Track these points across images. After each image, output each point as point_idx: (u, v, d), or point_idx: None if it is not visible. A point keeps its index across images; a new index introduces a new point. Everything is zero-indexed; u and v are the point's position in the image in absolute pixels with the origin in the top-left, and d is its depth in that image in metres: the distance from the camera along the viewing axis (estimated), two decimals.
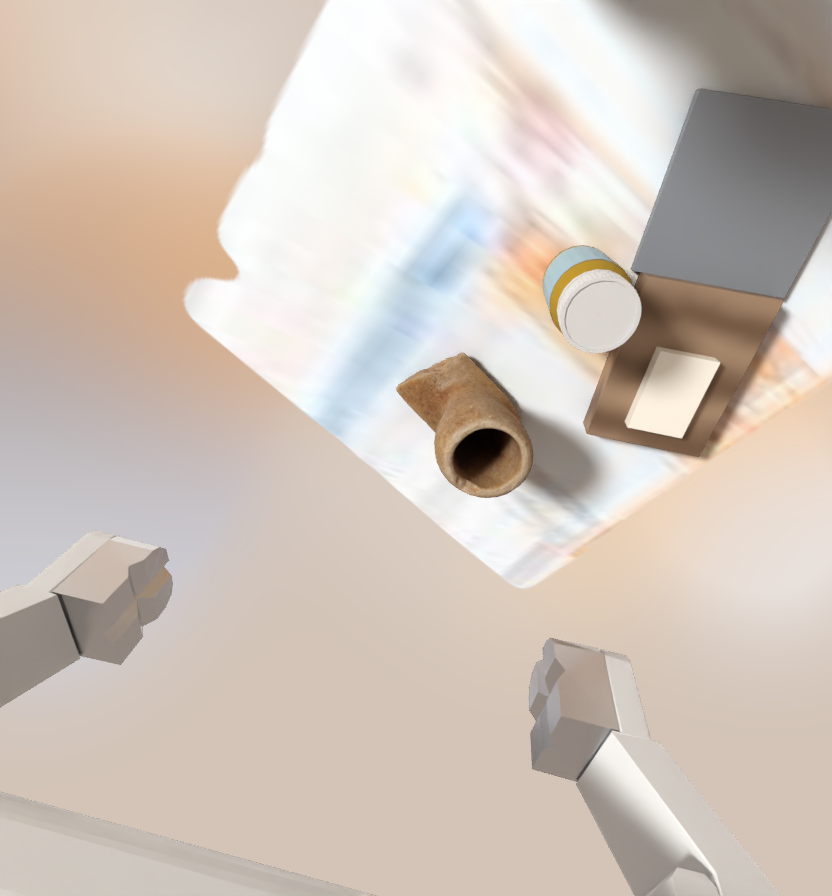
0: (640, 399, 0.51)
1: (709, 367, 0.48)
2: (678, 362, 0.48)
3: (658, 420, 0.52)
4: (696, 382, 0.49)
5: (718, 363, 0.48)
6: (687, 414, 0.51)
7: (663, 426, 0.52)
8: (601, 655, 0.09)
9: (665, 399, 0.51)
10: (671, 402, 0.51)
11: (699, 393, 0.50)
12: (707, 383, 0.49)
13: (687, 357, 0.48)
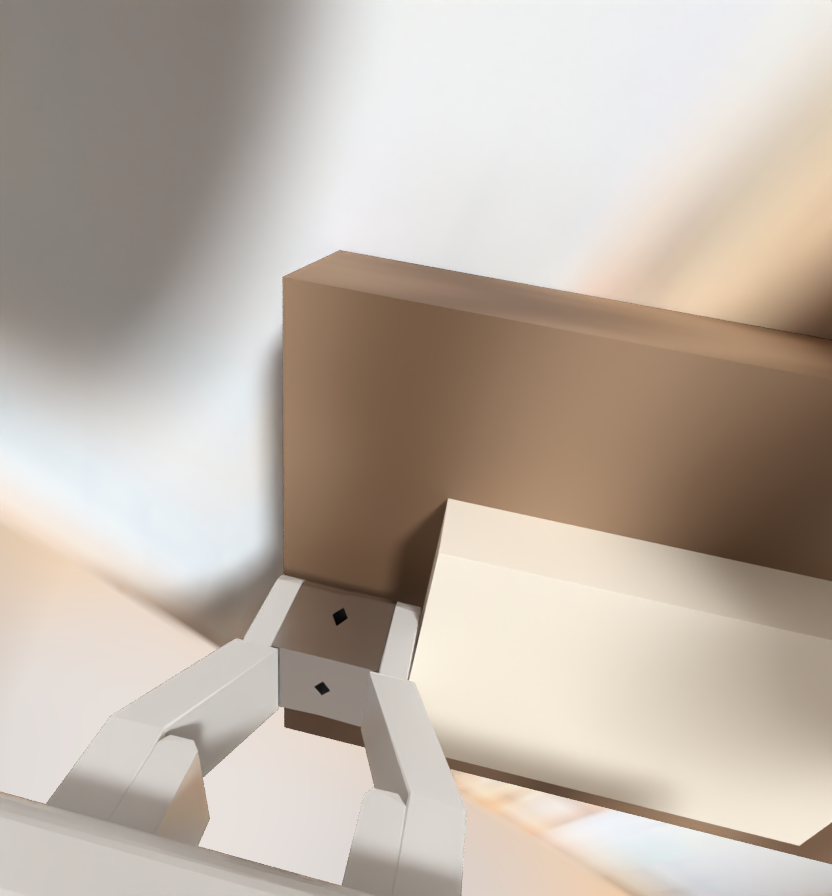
0: (653, 603, 0.08)
1: (786, 821, 0.10)
2: None
3: (493, 677, 0.09)
4: (710, 788, 0.10)
5: (797, 841, 0.10)
6: (527, 761, 0.10)
7: (453, 692, 0.09)
8: (392, 606, 0.09)
9: (633, 699, 0.09)
10: (604, 719, 0.09)
11: (645, 793, 0.10)
12: (692, 813, 0.10)
13: None
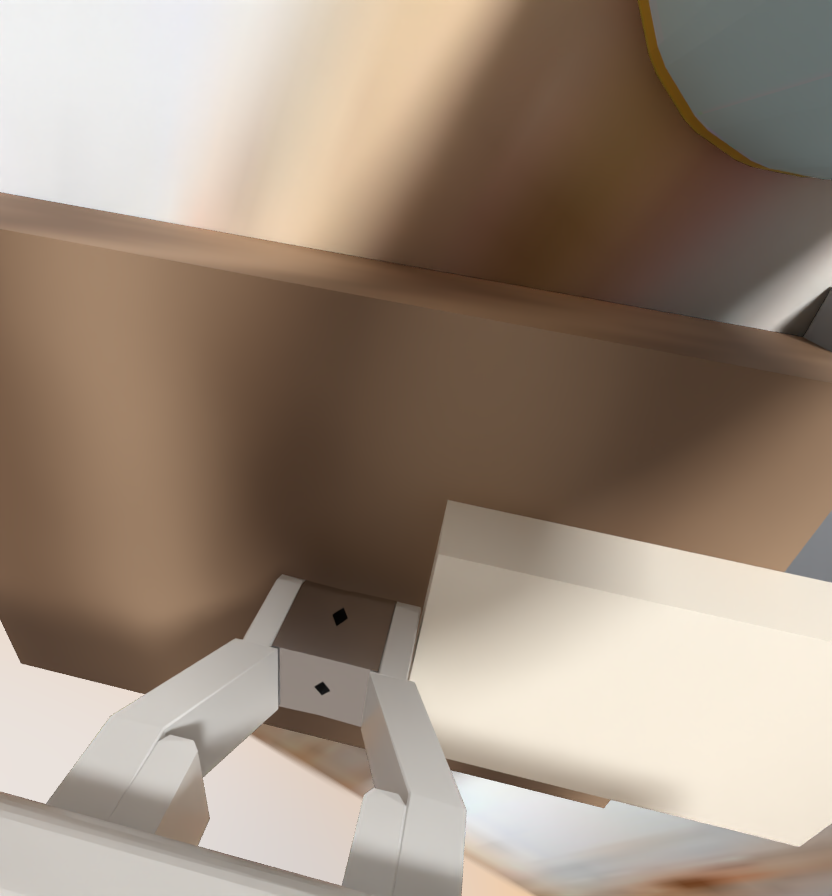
0: (652, 604, 0.08)
1: (786, 822, 0.10)
2: None
3: (493, 678, 0.09)
4: (710, 789, 0.10)
5: (797, 842, 0.10)
6: (526, 762, 0.10)
7: (453, 693, 0.09)
8: (392, 606, 0.09)
9: (633, 701, 0.09)
10: (604, 720, 0.09)
11: (645, 793, 0.10)
12: (691, 814, 0.10)
13: None
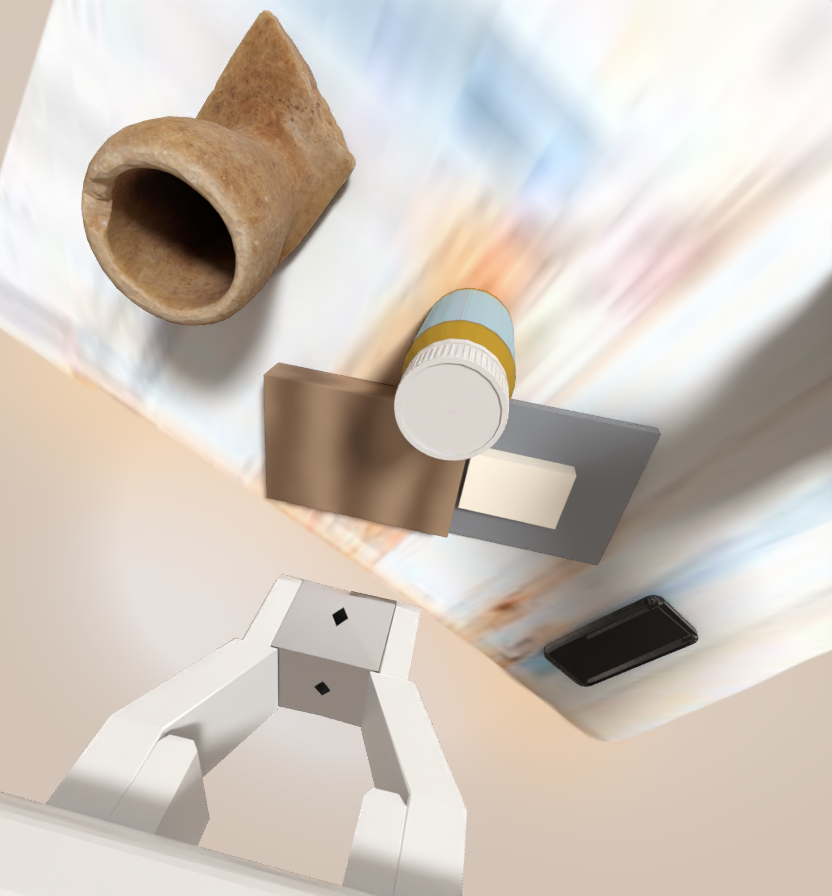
0: (512, 462, 0.40)
1: (549, 520, 0.43)
2: (558, 494, 0.41)
3: (482, 483, 0.42)
4: (532, 512, 0.43)
5: (554, 527, 0.43)
6: (490, 509, 0.43)
7: (473, 488, 0.42)
8: (392, 606, 0.09)
9: (511, 486, 0.42)
10: (506, 493, 0.42)
11: (518, 516, 0.43)
12: (529, 521, 0.43)
13: (564, 501, 0.41)
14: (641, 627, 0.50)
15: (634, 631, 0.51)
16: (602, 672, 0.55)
